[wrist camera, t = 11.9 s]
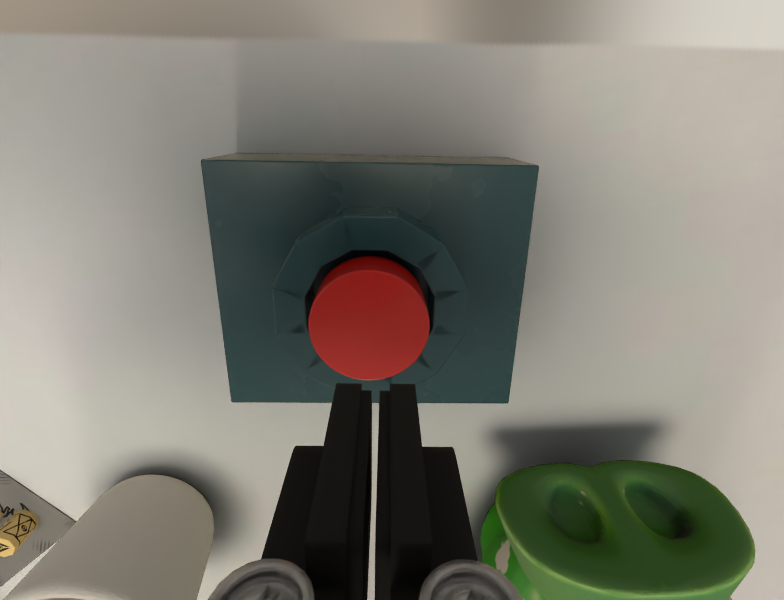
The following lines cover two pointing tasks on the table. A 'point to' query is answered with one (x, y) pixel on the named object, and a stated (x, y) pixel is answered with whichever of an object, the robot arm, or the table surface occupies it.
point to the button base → (369, 238)
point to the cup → (129, 547)
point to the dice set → (25, 527)
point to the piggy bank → (616, 534)
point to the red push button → (369, 318)
